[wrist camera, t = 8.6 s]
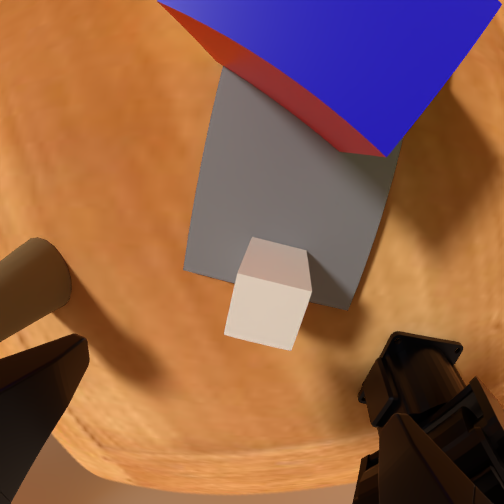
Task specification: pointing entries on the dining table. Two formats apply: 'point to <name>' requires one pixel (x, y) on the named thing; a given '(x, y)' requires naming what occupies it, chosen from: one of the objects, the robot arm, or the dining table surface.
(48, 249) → the cork
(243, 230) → the grey panel with knob
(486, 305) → the dining table surface
